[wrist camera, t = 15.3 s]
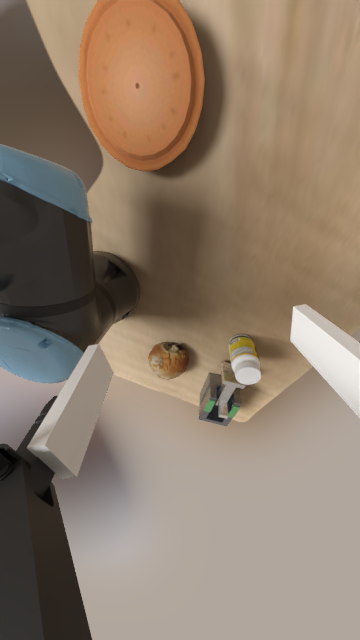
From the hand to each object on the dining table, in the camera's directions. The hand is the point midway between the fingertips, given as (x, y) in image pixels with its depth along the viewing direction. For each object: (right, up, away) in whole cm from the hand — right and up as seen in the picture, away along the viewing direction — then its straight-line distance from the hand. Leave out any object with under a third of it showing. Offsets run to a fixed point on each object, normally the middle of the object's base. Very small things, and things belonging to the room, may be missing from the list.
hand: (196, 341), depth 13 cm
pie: (-5, +31, +14) cm, 35 cm away
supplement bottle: (+13, -4, +33) cm, 36 cm away
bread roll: (-4, -8, +38) cm, 39 cm away
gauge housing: (+10, -18, +42) cm, 47 cm away
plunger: (+11, -14, +38) cm, 42 cm away
